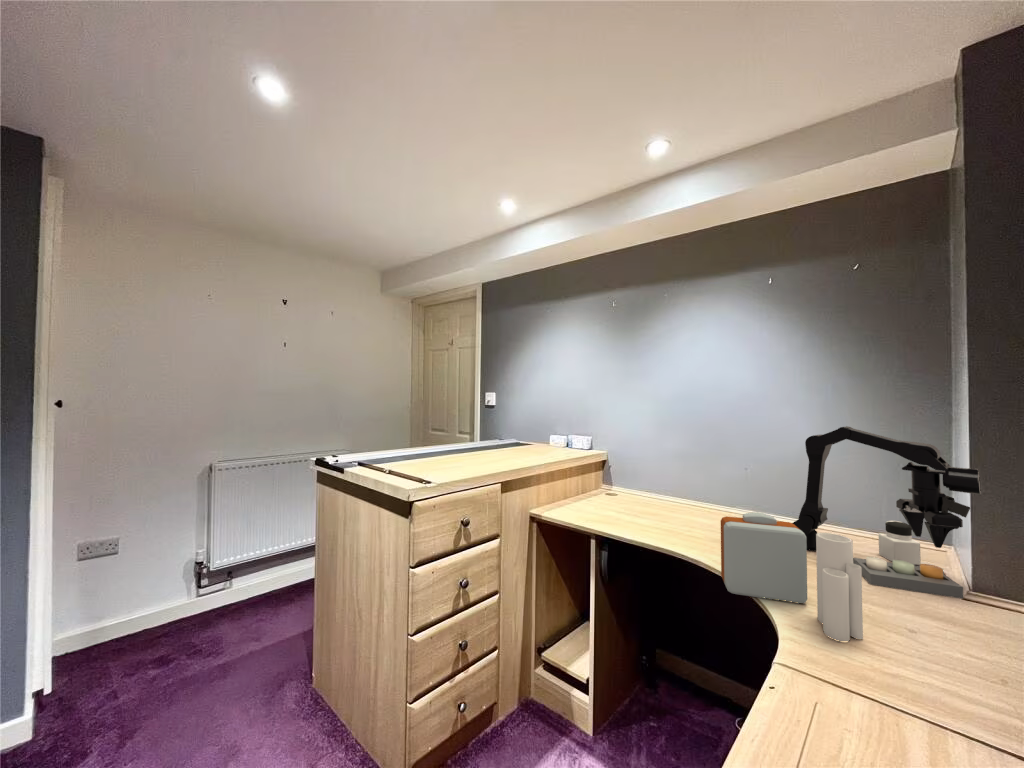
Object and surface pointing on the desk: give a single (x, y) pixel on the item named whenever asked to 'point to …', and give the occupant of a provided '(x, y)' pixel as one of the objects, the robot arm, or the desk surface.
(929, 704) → the desk surface
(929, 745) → the desk surface
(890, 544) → the medicine bottle
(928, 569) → the button orange
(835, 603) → the vase
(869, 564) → the button ivory
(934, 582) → the grey compartment tray
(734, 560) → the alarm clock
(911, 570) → the button sage
